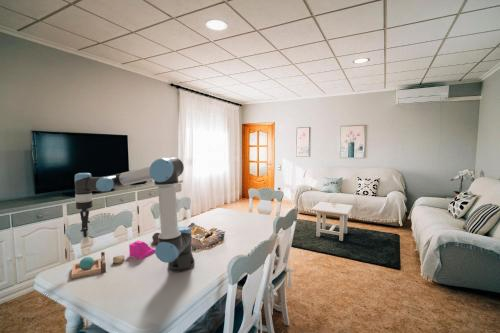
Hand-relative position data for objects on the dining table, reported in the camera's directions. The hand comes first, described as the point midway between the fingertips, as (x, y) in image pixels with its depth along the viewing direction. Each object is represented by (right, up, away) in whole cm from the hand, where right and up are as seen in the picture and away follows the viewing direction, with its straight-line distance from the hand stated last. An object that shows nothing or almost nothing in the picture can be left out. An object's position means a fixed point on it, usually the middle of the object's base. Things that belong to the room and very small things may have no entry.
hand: (85, 238), depth 135 cm
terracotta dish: (0, -19, +1) cm, 19 cm away
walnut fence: (+6, -18, +7) cm, 20 cm away
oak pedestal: (+12, -18, +12) cm, 25 cm away
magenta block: (+22, -17, +24) cm, 36 cm away
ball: (0, -14, +1) cm, 15 cm away
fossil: (+25, -16, +44) cm, 53 cm away
